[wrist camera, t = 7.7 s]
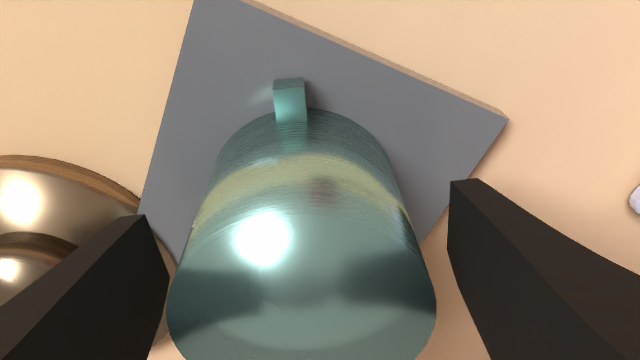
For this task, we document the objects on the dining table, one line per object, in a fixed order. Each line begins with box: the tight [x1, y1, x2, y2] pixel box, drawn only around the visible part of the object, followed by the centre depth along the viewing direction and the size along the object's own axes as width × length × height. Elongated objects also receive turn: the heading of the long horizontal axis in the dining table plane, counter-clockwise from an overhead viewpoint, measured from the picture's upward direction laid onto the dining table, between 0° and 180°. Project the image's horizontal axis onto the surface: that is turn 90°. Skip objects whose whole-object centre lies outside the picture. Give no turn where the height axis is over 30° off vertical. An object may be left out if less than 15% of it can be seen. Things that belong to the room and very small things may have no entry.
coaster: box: [137, 0, 509, 266], centre depth 12 cm, size 8×8×1 cm
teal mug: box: [166, 77, 436, 360], centre depth 10 cm, size 7×5×4 cm
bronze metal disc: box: [0, 155, 177, 346], centre depth 13 cm, size 8×8×2 cm
